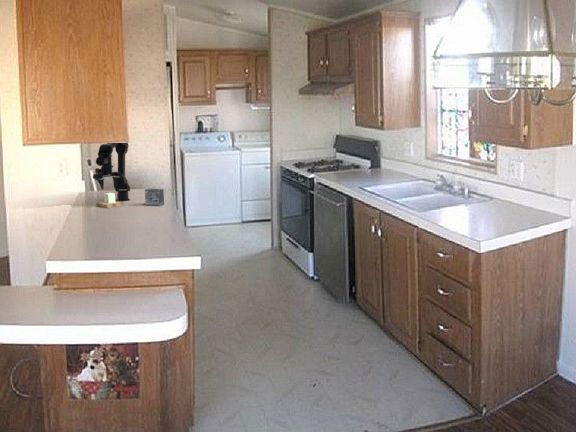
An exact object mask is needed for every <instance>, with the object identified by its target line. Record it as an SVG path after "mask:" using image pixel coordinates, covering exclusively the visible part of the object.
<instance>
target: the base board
mask: <svg viewBox="0 0 576 432" xmlns="http://www.w3.org/2000/svg"><path fill="white" fill-rule="evenodd" d="M95 203H96V205H95V206H96V207H98V208H99V207H100V208H105V209H109V208H116V207H122V206H124V201H118V200H115V203H110V204H108V203H104V201H102V202H95Z"/></svg>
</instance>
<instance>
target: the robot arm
mask: <svg viewBox="0 0 576 432" xmlns="http://www.w3.org/2000/svg"><path fill="white" fill-rule="evenodd" d="M106 143H107V144H106ZM106 143H102V144H100V146H99V148H98V152H97V156H98V157H96V158H95V164H96V165H97V166H99V168H98V167H97V168H96V167H95V169H94V174H92V179H94V180H95V181H97V182H98V185H99V186H100V189H101V190H102V191H103V190H104V184H105V183H104V180H105V179H104V178H107V177H109V178H110V177H111V178H112V179H113V180H112V181H113V182H112V183H113V188H114V190H115V192H117V202H125V201H131V199H130V198H129V192H130V191H131V187H130V185H129V183H128V178H127V177H126V155H127V153H128V151H129V142H127V143H108V142H106ZM114 148H115V152H116V153H117V171H113V168H114V166H113V165H112V163H113V162H112V161H113V160H112V157H113V155H112V153H113V152H114Z"/></svg>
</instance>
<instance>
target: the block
mask: <svg viewBox="0 0 576 432" xmlns="http://www.w3.org/2000/svg"><path fill="white" fill-rule="evenodd" d="M115 201H116V194H115V192H106V193H103V202H104V203H108V204H110V203H115Z"/></svg>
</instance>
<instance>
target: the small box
mask: <svg viewBox="0 0 576 432" xmlns="http://www.w3.org/2000/svg"><path fill="white" fill-rule="evenodd" d="M144 197H145V206H148V207H149V206H151V207H161V206H164V205H165V195H164V188H146V189H144Z"/></svg>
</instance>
